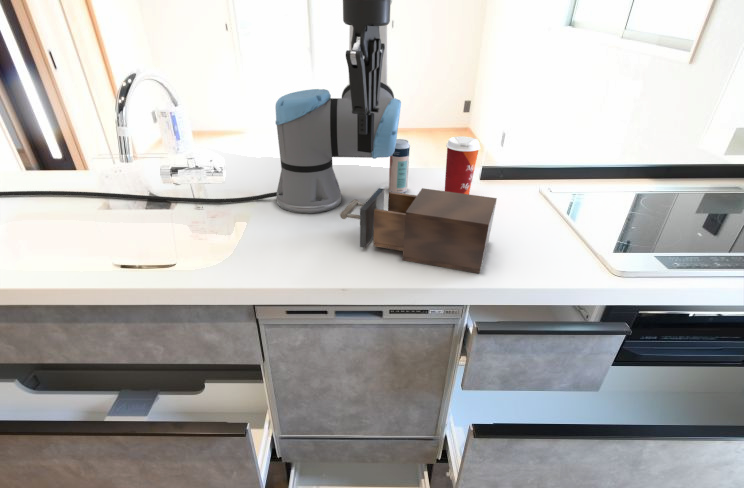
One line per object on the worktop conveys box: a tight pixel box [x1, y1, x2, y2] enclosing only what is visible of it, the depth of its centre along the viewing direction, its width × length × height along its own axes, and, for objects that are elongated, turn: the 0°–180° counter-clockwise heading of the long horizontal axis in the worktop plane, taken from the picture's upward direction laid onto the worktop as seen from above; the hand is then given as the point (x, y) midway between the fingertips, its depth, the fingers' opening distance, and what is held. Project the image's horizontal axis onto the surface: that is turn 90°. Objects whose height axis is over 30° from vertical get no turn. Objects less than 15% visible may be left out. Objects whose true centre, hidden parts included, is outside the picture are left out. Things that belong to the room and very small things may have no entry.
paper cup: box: [444, 135, 481, 195], centre depth 104 cm, size 8×8×14 cm
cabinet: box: [402, 187, 498, 274], centre depth 85 cm, size 15×13×10 cm
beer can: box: [387, 138, 411, 194], centre depth 109 cm, size 5×5×12 cm
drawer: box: [339, 187, 418, 252], centre depth 87 cm, size 18×11×8 cm, turn 71°
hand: (365, 150), depth 84 cm, fingers closed
